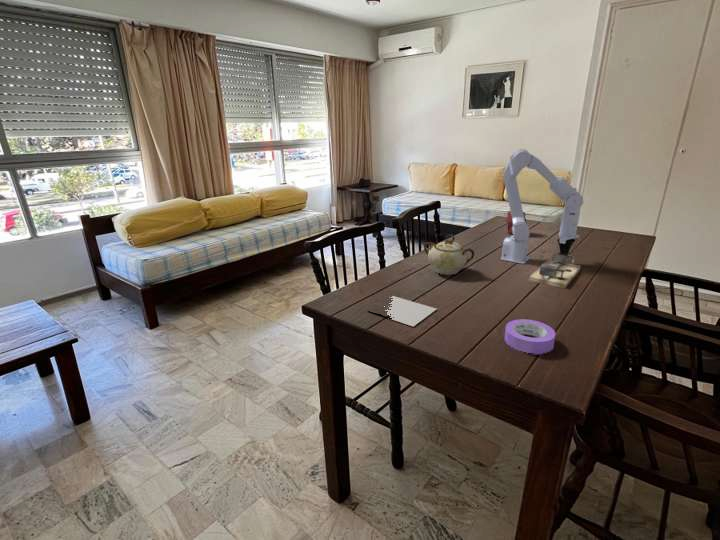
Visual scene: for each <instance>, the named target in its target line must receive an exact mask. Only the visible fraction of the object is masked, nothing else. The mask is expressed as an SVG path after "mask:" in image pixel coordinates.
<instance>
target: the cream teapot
mask: <svg viewBox="0 0 720 540" xmlns="http://www.w3.org/2000/svg"><path fill="white" fill-rule="evenodd" d="M449 237H451V238H452V240H448V238H449ZM428 245H429V246H430V249H429V251H428V249H427V246H428ZM423 249H424V251H425V253H426V254H427V258H428V261H429V263H430V265H431V266H432V267H433V269H434V270H435V272H436V273H437V274H439V273H440V274H439V275H443V274H445V275H444V276H453V275H452V274H454V275H456V274H458V273H459V271H460V270H462V269H463V268H464V267H465V266H467V265H468V264H469V262H470V261H472V260H473V259H474V257H475V251H474V250H473V249H472V248H470V247H467V248H464V246H463V245H462V244H459V243H457V242H455V236H454V235H453V234H452V233H449V234H447V235H446V236H445V237H444V241H442V242H441V241H440V242H437V243H433V242H431V241H430V242H429V241H427V242H425V243H424V244H423ZM468 252H470V253H471V255H470V257H469V253H468Z"/></svg>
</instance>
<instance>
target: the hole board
mask: <svg viewBox="0 0 720 540" xmlns="http://www.w3.org/2000/svg"><path fill="white" fill-rule="evenodd" d="M581 267H582V266H581V265H578V264H574V263H573V264H572V263H568V262H567V263H566V264H565V263H560V262H554V261H552V259H547V260H545V262H543V264H541V265H540V266H539V267H538V268H537V269H536V270H535V271H534V272H532V274H530V276H529V278H528V281H529V282H532V283H533V282H534V283H538V284H543V285H547V286H552V287H557V288H561V289H566V288H567V287H568V286H569V284H570V283H571V281H573V279H574V278H575V277H576V275H577V274H578V273H579V272H580V270H581Z"/></svg>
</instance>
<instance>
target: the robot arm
mask: <svg viewBox="0 0 720 540" xmlns="http://www.w3.org/2000/svg"><path fill="white" fill-rule="evenodd" d="M526 167H527V169H532V170H535V171H536V172H537V173H538V175H541V176H542V178H544V179H545V180H546V181H547V182H548V183H549V190H551V192H553V194H555V195H556V196H557V197H558V198H559V199H560V200H561V201H563V204H564V206H563V211H562V215H561V221H560V228H559V233H558V237H559V238H558V239H557V243H558V246H559V253H565V254H569V252H570V250H571V247H572V246H573V244H574V243H575V241H576V239H579V238H580V235H579V234H577V229H578V226H579V225H578V224H579V219H580V211H581V207H582V206H583V205H584V202H585V201H584V198H583V196H582V195H581V193H579V191H578V189H577V188H576V187H573V186H572V185H571V184H570V183H569V182H568V181H569V180H568V178H566V177H565V178H564V177H562V176H556V175H555V174H554V173H553V172H552V171H551V170H550V169H549V168H548V167H547V166H546V165H545V163H543V162H542V160H541V159H539V158H538V157H536V156H535V155H534V154H532V153H530V152H529V151H528V150H527V149H525V148H519V149H517V150H515V151H514V152H513V154H512V155H511V156H510V157H509V160H508V161H507V164H506V167H505V169H504V171H503V173H502V174H503V175H502V176H503V177H502V178H503V181H504V186H505V191H506V196H507V201H508V205H509V211H511V216H512V221H513V226H512V231H513V235H512V234H511V235H510V237H505V238H504V240H503V242H502V250H501V258H500V260H503V261H507V262H512V263H518V264H523V265H524V264H526V263H527V262H528V261H529V260H530V259H531V258H530V257H528V250H529V244H530V234H531V233H530V229H529V225H528V223H527V221H526V222H525V220H524V215H523V212H524V211H523V206H522V200H521V197H520V192H519V185H518V180H517V177H518V176H519V174H520V172H521V171H522V170H523V169H525V168H526ZM575 238H576V239H575Z"/></svg>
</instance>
